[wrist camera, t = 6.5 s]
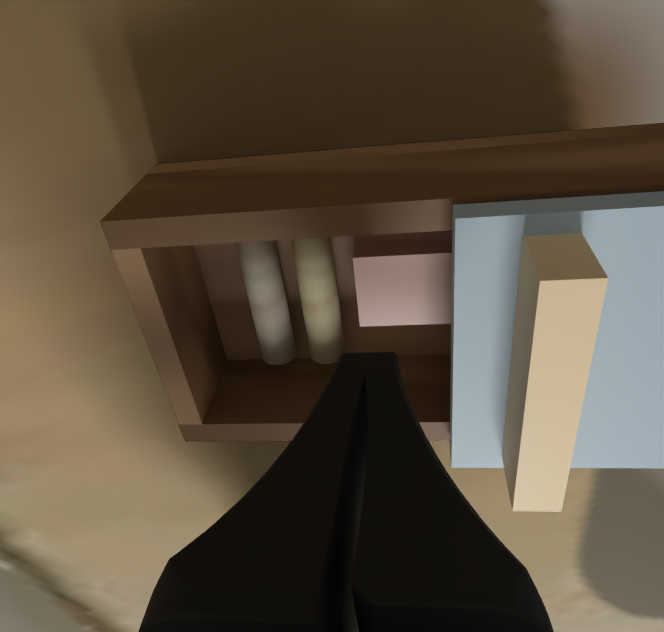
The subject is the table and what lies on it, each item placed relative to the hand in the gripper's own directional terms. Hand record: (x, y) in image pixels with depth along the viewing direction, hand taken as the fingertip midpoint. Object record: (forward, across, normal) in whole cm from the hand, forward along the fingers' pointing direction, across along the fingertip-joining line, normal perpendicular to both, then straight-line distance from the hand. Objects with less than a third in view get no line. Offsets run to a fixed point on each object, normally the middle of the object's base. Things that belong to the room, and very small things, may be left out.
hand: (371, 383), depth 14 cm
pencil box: (+6, -2, 0) cm, 6 cm away
